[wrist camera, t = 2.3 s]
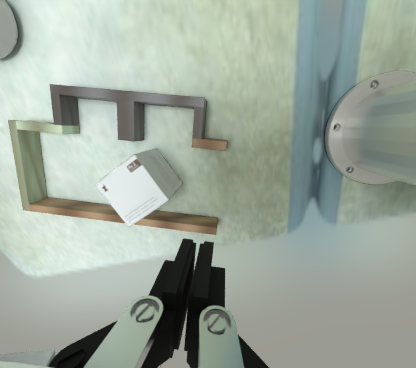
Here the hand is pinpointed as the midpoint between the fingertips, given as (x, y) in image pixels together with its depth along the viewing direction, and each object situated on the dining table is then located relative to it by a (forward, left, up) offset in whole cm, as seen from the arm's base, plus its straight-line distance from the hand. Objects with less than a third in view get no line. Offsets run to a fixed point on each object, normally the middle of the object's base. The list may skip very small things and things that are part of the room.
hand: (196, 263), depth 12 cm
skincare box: (+8, 0, -17) cm, 19 cm away
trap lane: (+12, -2, -17) cm, 21 cm away
